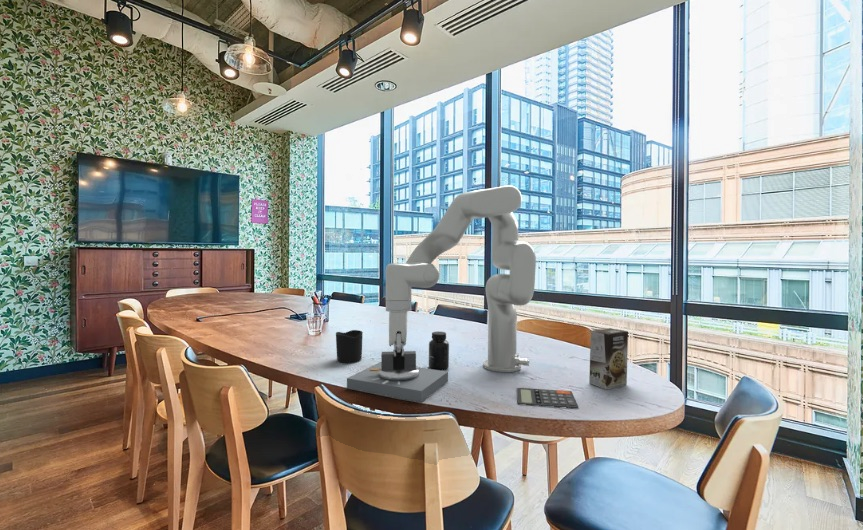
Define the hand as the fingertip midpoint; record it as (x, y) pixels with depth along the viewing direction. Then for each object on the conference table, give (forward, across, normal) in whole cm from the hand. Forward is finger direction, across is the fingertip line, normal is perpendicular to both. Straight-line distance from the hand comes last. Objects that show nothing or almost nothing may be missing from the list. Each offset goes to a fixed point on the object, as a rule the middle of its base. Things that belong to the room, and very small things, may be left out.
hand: (398, 365), depth 117 cm
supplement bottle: (+6, -15, +14) cm, 21 cm away
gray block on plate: (+2, 0, -1) cm, 3 cm away
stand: (+6, 0, 0) cm, 6 cm away
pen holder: (+6, -28, -18) cm, 33 cm away
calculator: (+6, +14, +40) cm, 42 cm away
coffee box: (+6, +5, +62) cm, 62 cm away
